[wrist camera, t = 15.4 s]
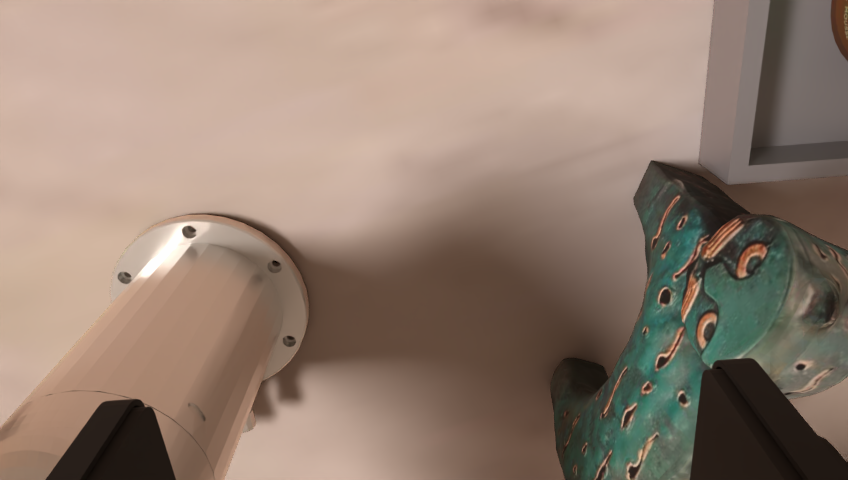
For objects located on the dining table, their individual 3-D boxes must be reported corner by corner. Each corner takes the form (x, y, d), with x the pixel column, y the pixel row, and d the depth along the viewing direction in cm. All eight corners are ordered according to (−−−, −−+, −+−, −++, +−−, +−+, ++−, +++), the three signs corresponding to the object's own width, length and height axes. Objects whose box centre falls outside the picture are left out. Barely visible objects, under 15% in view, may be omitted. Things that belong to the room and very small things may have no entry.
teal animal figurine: (646, 127, 37) (858, 292, 19) (744, 159, 38) (1038, 347, 20) (523, 390, 45) (590, 686, 27) (607, 412, 46) (727, 714, 28)
